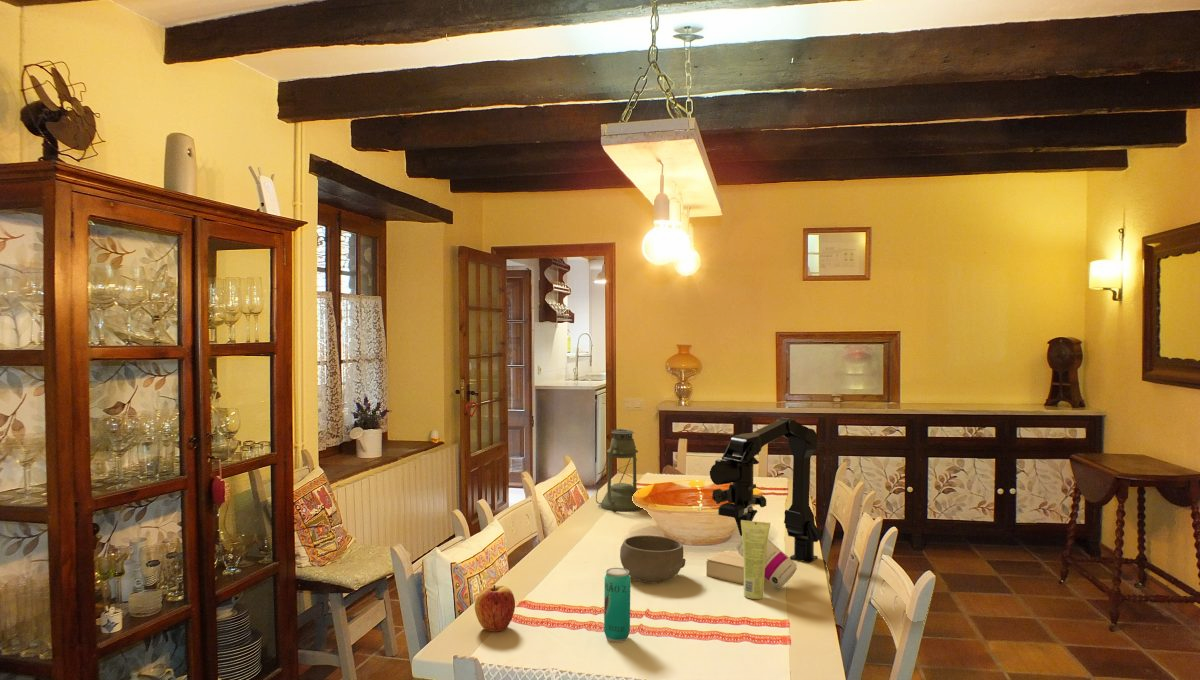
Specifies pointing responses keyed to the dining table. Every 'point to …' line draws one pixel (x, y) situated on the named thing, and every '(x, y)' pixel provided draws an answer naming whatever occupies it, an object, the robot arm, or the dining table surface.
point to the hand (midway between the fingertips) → (742, 535)
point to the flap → (731, 554)
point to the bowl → (652, 558)
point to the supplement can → (775, 565)
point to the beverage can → (617, 604)
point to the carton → (726, 568)
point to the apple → (495, 607)
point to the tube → (754, 557)
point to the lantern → (622, 492)
